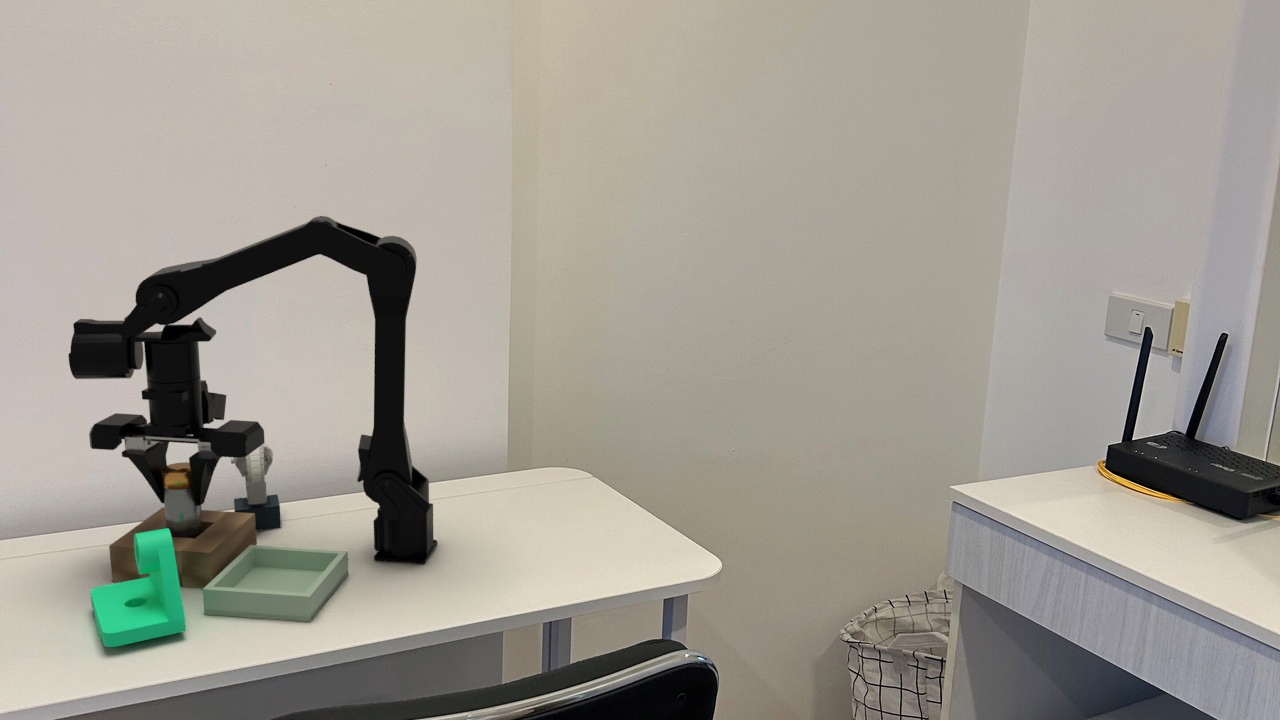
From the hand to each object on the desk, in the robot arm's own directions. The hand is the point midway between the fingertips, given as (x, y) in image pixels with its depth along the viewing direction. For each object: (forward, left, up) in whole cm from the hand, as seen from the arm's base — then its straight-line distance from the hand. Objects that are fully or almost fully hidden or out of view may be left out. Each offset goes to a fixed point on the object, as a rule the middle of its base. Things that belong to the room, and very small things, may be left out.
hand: (182, 503), depth 127 cm
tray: (-14, +6, -8) cm, 17 cm away
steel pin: (0, 0, -6) cm, 6 cm away
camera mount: (-2, +15, -8) cm, 17 cm away
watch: (-3, -13, -8) cm, 16 cm away
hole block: (0, 0, -8) cm, 8 cm away
